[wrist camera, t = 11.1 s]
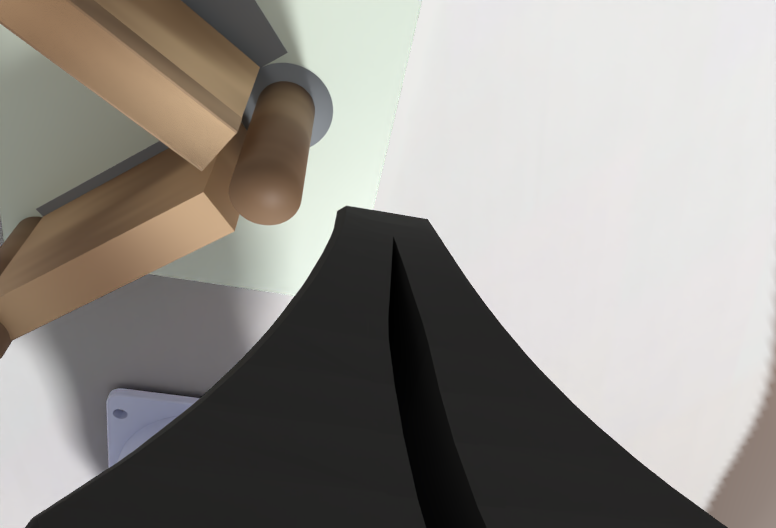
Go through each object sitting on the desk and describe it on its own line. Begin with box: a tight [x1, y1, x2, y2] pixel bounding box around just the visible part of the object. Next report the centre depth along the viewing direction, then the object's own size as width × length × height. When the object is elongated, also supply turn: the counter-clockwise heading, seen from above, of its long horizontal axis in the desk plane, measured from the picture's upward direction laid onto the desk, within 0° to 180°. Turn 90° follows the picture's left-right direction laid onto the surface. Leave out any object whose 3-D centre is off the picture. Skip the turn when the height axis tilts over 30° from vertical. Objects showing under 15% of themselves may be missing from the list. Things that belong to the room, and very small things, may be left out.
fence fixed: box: [0, 81, 315, 359], centre depth 18 cm, size 2×10×5 cm, turn 118°
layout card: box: [0, 0, 422, 296], centre depth 18 cm, size 16×11×1 cm
